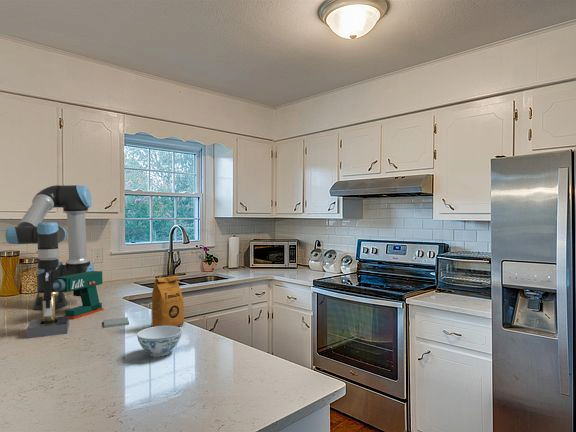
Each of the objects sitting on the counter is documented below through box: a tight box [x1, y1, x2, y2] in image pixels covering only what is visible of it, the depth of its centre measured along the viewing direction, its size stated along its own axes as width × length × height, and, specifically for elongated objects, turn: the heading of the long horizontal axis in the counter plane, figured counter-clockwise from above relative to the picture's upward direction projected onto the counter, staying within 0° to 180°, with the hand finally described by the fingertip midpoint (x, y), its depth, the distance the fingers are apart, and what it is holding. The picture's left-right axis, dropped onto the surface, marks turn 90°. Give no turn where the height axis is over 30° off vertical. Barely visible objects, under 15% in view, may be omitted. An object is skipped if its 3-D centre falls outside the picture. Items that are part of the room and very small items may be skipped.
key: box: [39, 292, 58, 324], centre depth 167 cm, size 4×7×16 cm, turn 116°
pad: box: [103, 316, 130, 329], centre depth 178 cm, size 10×10×1 cm
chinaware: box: [136, 326, 183, 358], centre depth 139 cm, size 15×15×8 cm
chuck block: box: [26, 315, 70, 339], centre depth 167 cm, size 14×14×4 cm
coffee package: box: [151, 275, 185, 327], centre depth 172 cm, size 10×12×22 cm
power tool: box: [43, 270, 104, 320], centre depth 189 cm, size 32×7×20 cm, turn 162°
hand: (49, 314), depth 167 cm, fingers closed on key, 4 cm apart
